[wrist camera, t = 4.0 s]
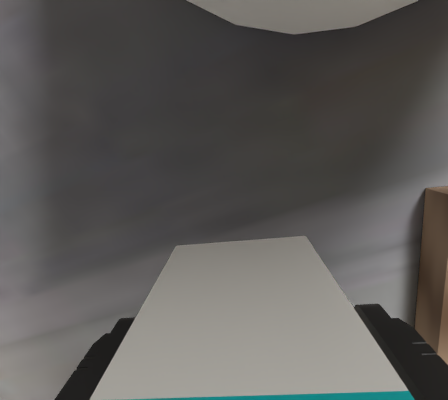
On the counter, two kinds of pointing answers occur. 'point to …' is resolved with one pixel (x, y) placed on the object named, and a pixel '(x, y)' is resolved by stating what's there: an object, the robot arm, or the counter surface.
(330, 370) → the block
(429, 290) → the board
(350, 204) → the counter surface
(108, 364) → the robot arm
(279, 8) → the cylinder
